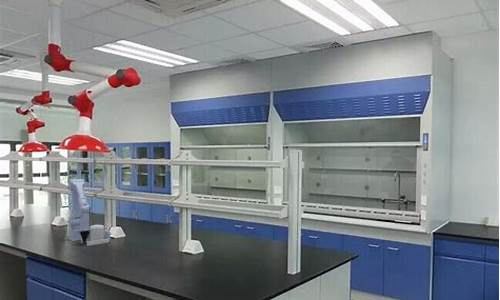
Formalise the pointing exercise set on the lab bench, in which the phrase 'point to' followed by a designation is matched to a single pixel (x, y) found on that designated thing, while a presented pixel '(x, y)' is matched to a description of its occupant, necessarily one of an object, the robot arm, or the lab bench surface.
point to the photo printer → (96, 232)
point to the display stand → (105, 240)
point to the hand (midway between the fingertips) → (84, 242)
